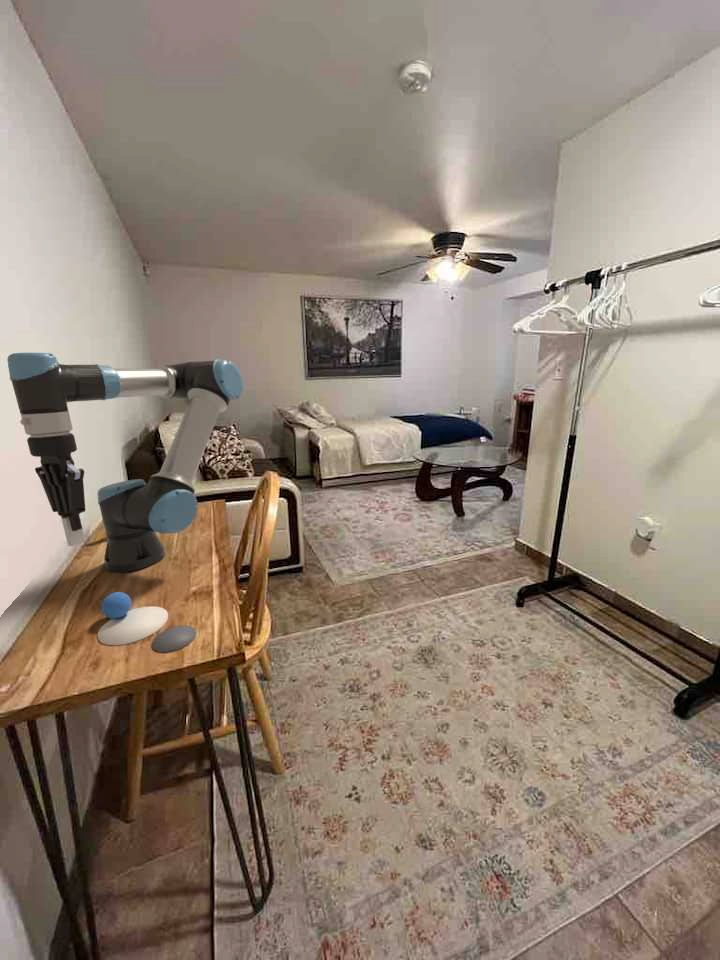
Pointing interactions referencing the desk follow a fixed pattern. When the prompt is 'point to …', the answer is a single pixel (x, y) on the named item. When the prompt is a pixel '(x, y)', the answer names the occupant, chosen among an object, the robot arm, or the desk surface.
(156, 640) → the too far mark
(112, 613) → the ball
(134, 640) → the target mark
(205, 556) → the desk surface
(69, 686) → the desk surface
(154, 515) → the robot arm
